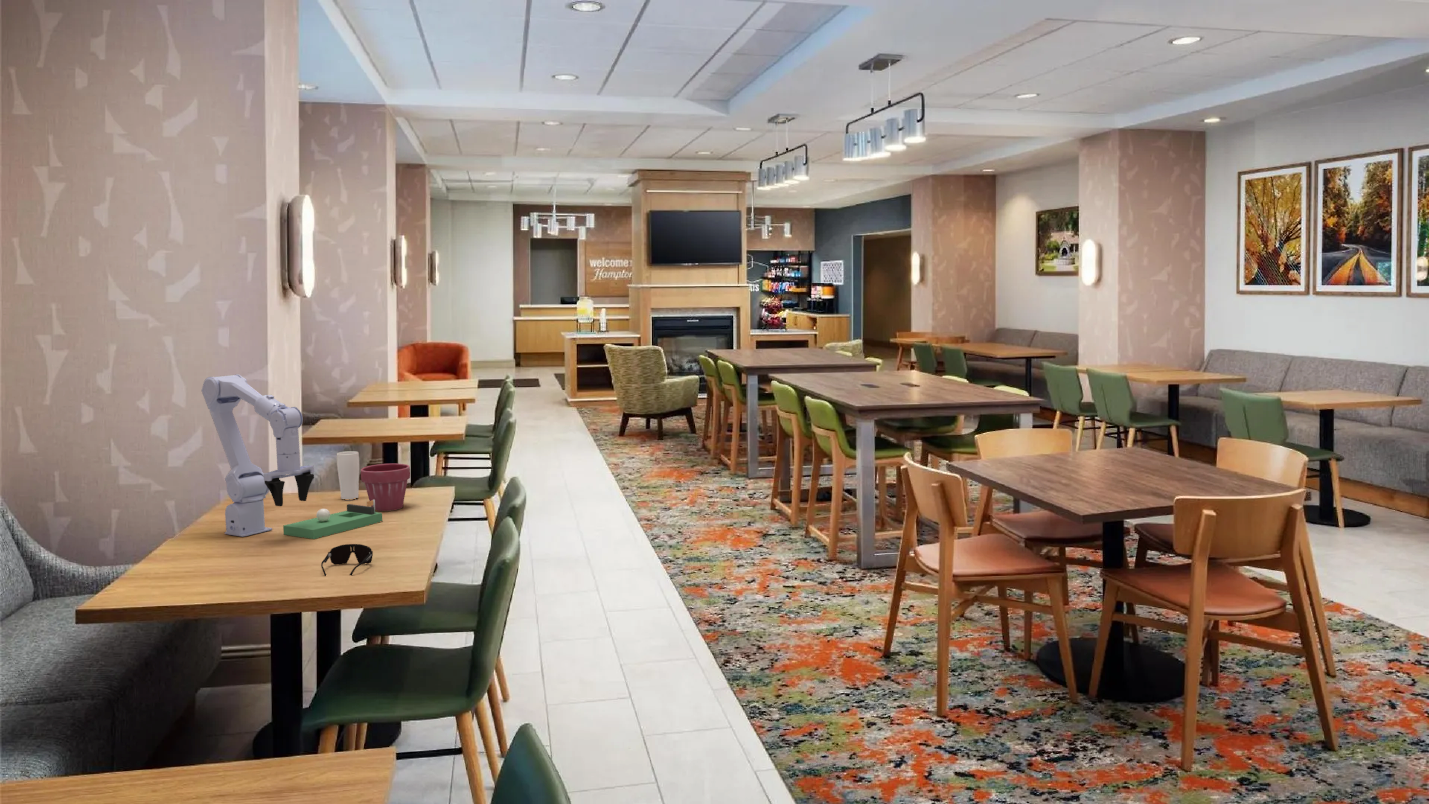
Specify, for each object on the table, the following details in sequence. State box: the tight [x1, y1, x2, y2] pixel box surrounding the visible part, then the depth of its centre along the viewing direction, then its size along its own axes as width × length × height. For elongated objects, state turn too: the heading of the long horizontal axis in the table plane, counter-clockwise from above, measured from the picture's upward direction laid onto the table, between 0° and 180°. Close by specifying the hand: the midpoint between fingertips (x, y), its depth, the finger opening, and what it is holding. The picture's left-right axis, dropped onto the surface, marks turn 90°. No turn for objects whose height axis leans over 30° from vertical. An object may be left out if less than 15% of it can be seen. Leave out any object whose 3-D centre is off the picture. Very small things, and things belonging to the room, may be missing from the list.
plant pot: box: [360, 463, 411, 512], centre depth 315 cm, size 14×14×13 cm
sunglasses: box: [320, 543, 374, 577], centre depth 246 cm, size 10×12×5 cm
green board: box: [282, 500, 383, 540], centre depth 290 cm, size 24×12×6 cm, turn 151°
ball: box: [315, 508, 331, 522], centre depth 287 cm, size 4×4×4 cm
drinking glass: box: [336, 450, 360, 500], centre depth 330 cm, size 7×7×15 cm
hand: (291, 503), depth 278 cm, fingers open, 7 cm apart
